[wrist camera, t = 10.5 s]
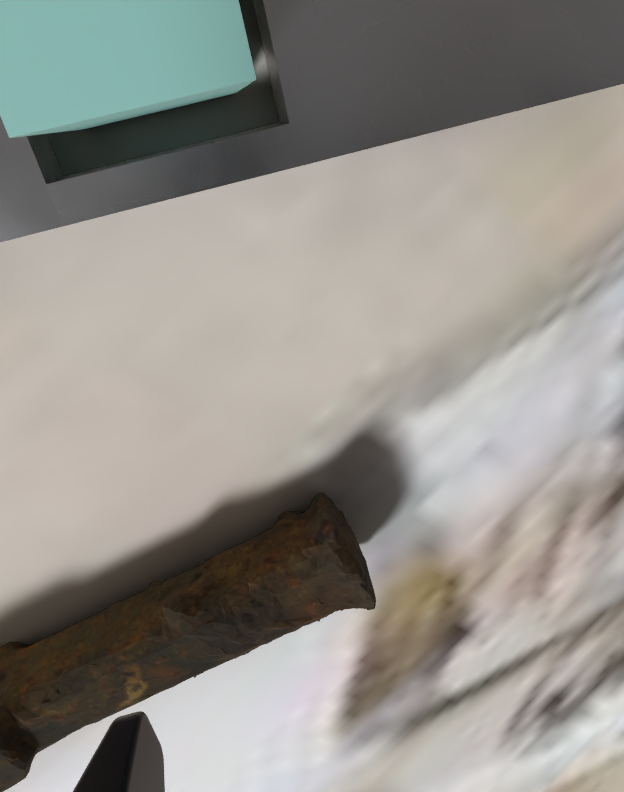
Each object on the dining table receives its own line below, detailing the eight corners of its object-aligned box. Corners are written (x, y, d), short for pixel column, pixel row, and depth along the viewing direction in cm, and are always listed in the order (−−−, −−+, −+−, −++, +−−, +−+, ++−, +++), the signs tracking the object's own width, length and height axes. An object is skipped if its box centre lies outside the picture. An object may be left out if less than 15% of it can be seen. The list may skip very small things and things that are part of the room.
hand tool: (327, 468, 22) (356, 551, 17) (363, 546, 23) (397, 638, 19) (-142, 669, 22) (-223, 798, 18) (-72, 731, 24) (-131, 860, 20)
